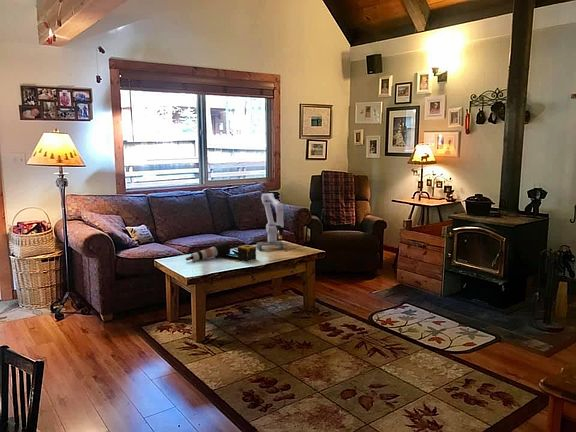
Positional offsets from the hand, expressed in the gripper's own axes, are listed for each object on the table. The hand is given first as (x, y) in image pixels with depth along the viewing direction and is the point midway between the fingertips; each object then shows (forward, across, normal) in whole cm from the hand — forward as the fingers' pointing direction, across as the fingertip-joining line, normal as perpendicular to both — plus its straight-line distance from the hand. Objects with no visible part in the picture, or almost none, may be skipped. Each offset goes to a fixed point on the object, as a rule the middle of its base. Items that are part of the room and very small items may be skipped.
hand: (280, 234), depth 396 cm
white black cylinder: (+11, +24, -63) cm, 69 cm away
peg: (+4, 0, 0) cm, 4 cm away
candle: (+11, +34, -36) cm, 51 cm away
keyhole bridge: (+10, +5, -10) cm, 15 cm away
